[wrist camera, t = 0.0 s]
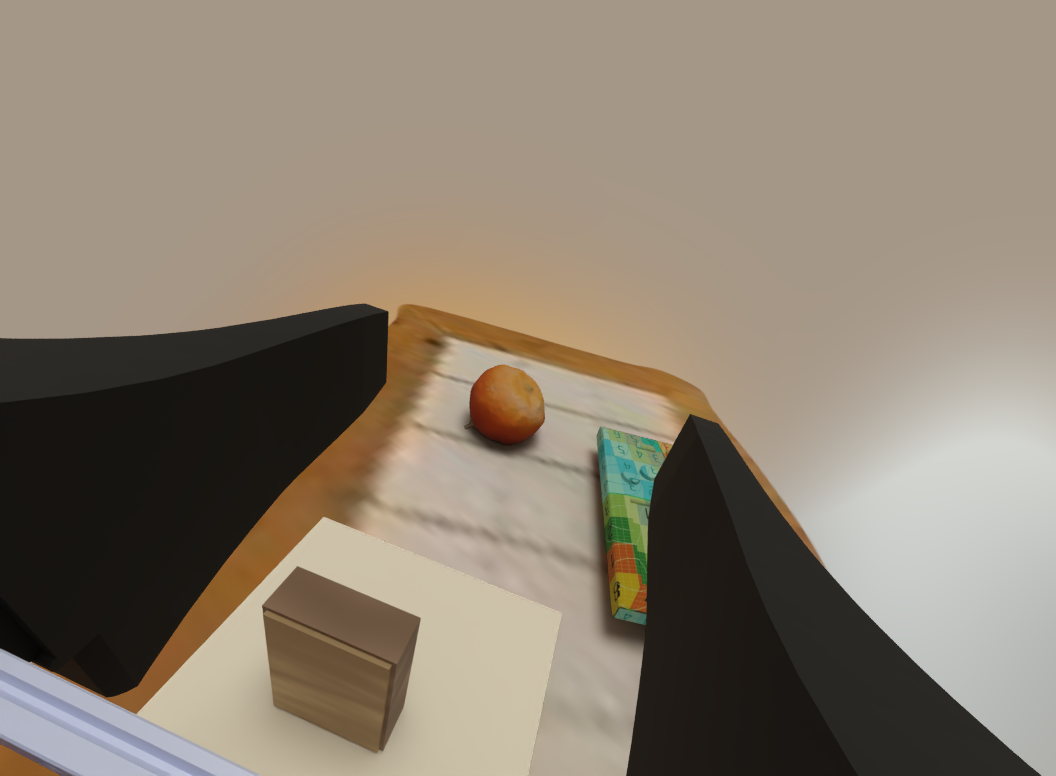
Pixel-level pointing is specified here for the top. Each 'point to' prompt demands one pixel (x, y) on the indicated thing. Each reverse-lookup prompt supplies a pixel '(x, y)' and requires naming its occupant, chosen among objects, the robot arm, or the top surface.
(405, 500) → the top surface
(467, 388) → the top surface
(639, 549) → the puzzle game
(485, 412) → the fruit
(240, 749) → the mat
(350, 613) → the walnut tile
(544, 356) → the top surface
